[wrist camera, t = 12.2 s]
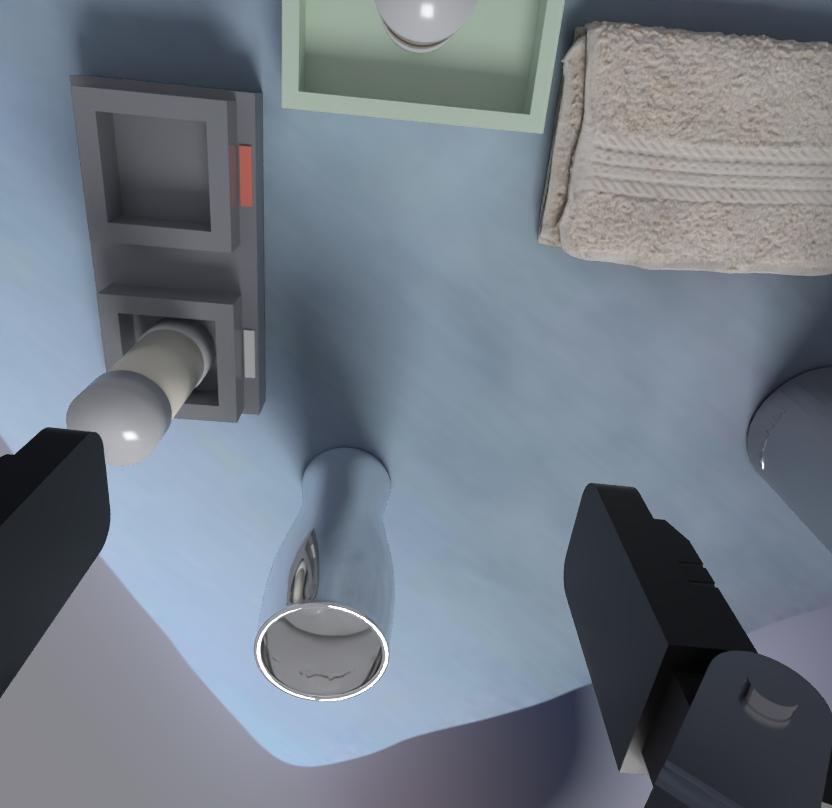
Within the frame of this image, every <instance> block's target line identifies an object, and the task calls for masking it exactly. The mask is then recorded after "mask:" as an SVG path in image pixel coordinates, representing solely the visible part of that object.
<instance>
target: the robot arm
mask: <svg viewBox="0 0 832 808" xmlns="http://www.w3.org/2000/svg"><path fill="white" fill-rule="evenodd" d="M747 451H748V455H749V458H750V462H751V463H752V465H753V467H754V468H755V470H756V471H757V472H758V473H759V475H760V476H761V477H762V478H763V479H764V480H765V481H766V482H767V483H768V484H769V485H770V487H771V488H772V489H773V490H774V491H775V492H776V493H777V494H778V495H779V496H780V497H781V499H782V500H783V501H784V502H785V503H786V504H787V505H788V507H789V508H790V509H791V510H792V511H793V512H794V513H795V514H796V515H797V516H798V517H799V519H800V520H801V521H802V522H803V523H804V524H805V525H806V526H807V527H808V528H809V529H810V531H811V532H812V533H813V534H814V535H815V536H816V537H817V538H818V539H819V540H820V541H821V543H822V544H823V545H824V546H825V547H826V548H827V549H828V550H829V551H830V552H831V553H832V367H826V368H819V369H816V370H812V371H809V372H805V373H803V374H801V375H799V376H797V377H795V378H793V379H791V380H789V381H788V382H786V383H785V384H783V385H782V386H780V387H779V388H777V389H776V390H775V391H774V392H773V393H772V394H771V395H770V396H769V397H768V398H767V399H766V400H765V401H764V402H763V404H762V405H761V407H760V408H759V409H758V411H757V412H756V414H755V416H754V418H753V420H752V422H751V424H750V428H749V432H748V436H747ZM109 526H110V503H109V493H108V484H107V474H106V464H105V454H104V446H103V441H102V439H101V436H100V435H99V434H98V433H96V432H90V431H80V430H70V429H60V428H50V427H48V428H45V429H43V430H41V431H40V432H39V433H38V434H37V435H36V436H35V437H34V438H32V439H31V440H30V441H29V442H28V443H27V444H26V445H25V446H24V447H22V448H21V449H20V450H19V451H18V452H17V453H16V454H15V455H10V454H6V455H4V456H2V457H0V698H1V696H2V695H3V693H4V692H5V690H6V689H7V687H8V686H9V684H10V682H11V681H12V680H13V678H14V677H15V676H16V674H17V672H18V671H19V670H20V668H21V667H22V665H23V664H24V663H25V661H26V660H27V658H28V657H29V655H30V654H31V652H32V651H33V649H34V648H35V646H36V645H37V644H38V642H39V641H40V639H41V637H42V636H43V635H44V633H45V632H46V630H47V629H48V627H49V626H50V624H51V623H52V622H53V620H54V619H55V617H56V616H57V614H58V613H59V611H60V610H61V608H62V607H63V606H64V604H65V602H66V601H67V600H68V598H69V597H70V595H71V594H72V592H73V591H74V589H75V588H76V587H77V585H78V584H79V582H80V581H81V579H82V578H83V576H84V575H85V573H86V572H87V570H88V569H89V567H90V566H91V565H92V563H93V562H94V560H95V559H96V557H97V556H98V554H99V553H100V551H101V550H102V548H103V546H104V544H105V541H106V538H107V535H108V531H109ZM714 584H715V582H714V581H713V579H712V577H711V576H710V574H709V572H708V571H707V569H706V568H703V563H702V561H701V559H700V558H699V556H698V554H697V553H696V551H695V550H694V548H693V546H692V545H691V543H690V541H689V540H688V539H686V538H685V537H684V536H683V535H682V534H681V533H679V532H678V531H677V530H676V529H675V528H674V527H672V526H671V525H670V524H669V523H668V522H667V521H665V520H660V519H654V518H653V517H652V515H651V513H650V511H649V510H648V508H647V506H646V504H645V502H644V501H643V499H642V497H641V495H640V493H639V492H638V490H637V489H636V488H634V487H626V486H616V485H606V484H596V483H589V484H588V485H587V486H586V488H585V490H584V492H583V495H582V498H581V502H580V506H579V509H578V513H577V517H576V520H575V524H574V528H573V531H572V535H571V539H570V542H569V546H568V550H567V554H566V558H565V564H564V588H565V593H566V597H567V600H568V604H569V607H570V610H571V614H572V617H573V620H574V624H575V627H576V630H577V634H578V637H579V640H580V644H581V647H582V650H583V654H584V657H585V660H586V664H587V667H588V670H589V674H590V677H591V680H592V684H593V687H594V690H595V694H596V697H597V700H598V703H599V707H600V710H601V713H602V717H603V720H604V723H605V727H606V730H607V733H608V736H609V740H610V743H611V747H612V750H613V753H614V757H615V760H616V763H617V767H618V770H619V772H620V773H633V774H634V773H635V774H647V775H649V776H650V779H651V782H652V785H653V789H652V791H651V793H650V796H649V798H648V800H647V802H646V804H645V807H644V808H832V712H831V710H830V708H829V706H828V704H827V703H826V701H825V700H824V698H823V697H822V696H821V695H820V693H819V692H818V691H817V690H816V689H815V688H814V687H813V686H812V685H811V684H810V683H809V682H808V681H807V680H806V679H804V678H803V677H802V676H801V675H799V674H798V673H797V672H795V671H794V670H792V669H791V668H789V667H787V666H786V665H784V664H782V663H780V662H778V661H776V660H774V659H771V658H769V657H766V656H763V655H761V654H758V653H757V651H756V649H755V648H754V646H753V644H752V643H751V641H750V640H749V638H748V636H747V635H746V633H745V631H744V630H743V628H742V626H741V625H740V623H739V621H738V620H737V618H736V617H735V615H734V613H733V612H732V610H731V608H730V607H729V605H728V603H727V602H726V600H725V599H724V597H723V595H722V594H721V592H720V590H719V589H718V588H716V587H715V586H714Z"/></svg>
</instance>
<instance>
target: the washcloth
mask: <svg viewBox="0 0 832 808" xmlns="http://www.w3.org/2000/svg"><path fill="white" fill-rule="evenodd" d="M561 62H563V63H564V65H563V67H562V68H563V76H562V79H561V85H560V88H559V96H558V102H557V107H556V113H555V120H554V129H553V142H552V148H551V153H550V160H549V165H548V171H547V176H546V184H545V189H544V195H543V200H542V205H541V212H540V220H539V232H538V237H537V240H538V243H540V244H547V245H549V246H551V247H555V246H556V247H558V246H559V247H562V248H563V250H564V251H565V252H566V253H568V254H569V255H571V256H573V257H576V258H579V259H583V260H587V261H605V262H613V263H618V264H626V265H632V266H637V267H639V268H642V269H649V270H657V269H659V270H661V269H663V270H666V269H667V270H698V271H714V272H725V273H773V274H786V275H800V276H801V275H807V276H820V275H821V276H822V275H827V274H832V44H830V43H828V42H827V41H825V42H821V41H817V42H813V41H811V42H805V43H803V42H797V41H795V40H781V41H780V40H778V39H777V40H776V39H773V38H770V37H768V36H765V35H764V34H763V35H759V36H757V37H756V36H754V35H751V36H746V35H745V34H743V36H739V35H736V34H730V35H724V34H723V33H722V32H693V31H687V30H685V29H681V28H678V29H676V28H675V29H666V28H665V27H661V26H660V27H657V26H654V27H644V26H642V25H640V24H638V23H637V24H630V23H627V22H620V23H615V22H608V21H603V22H598V21H594V22H592V23H586V24H585V26H584V27H576V28H575V29H574V40H573V45H572V47H571V48H570V49H569V50H568V51H567V53H566V54H565V56H564V57H563V59H562V60H561Z"/></svg>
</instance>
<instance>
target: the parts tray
mask: <svg viewBox="0 0 832 808" xmlns="http://www.w3.org/2000/svg"><path fill="white" fill-rule="evenodd" d="M564 3H565V0H478V2H477V5H476V7H475V9H474V11H473V12H472V14H471V16H470V17H469V18H468V20H467V21H466V22H465V23H464V24H463V25H462V26H461V28H460V29H459V30H458V31H457V32H455V34H454V35H453V36H452V38H451V39H450V40H449V41H448V42H447V43H446V44H445V45H443V46H442V47H441V48H439V49H438V50H436V51H433V52H430V53H426V54H415V53H410V52H408V51H405V50H403V49H401V48H400V47H399V46H397V45H396V44H395V43H394V42H393V41H392V40H391V39H390V37H389V36H388V34H387V33H386V31H385V29H384V26H383V24H382V21H381V18H380V14H379V12H378V9H377V7H376V4H375V1H374V0H282V108H288V109H298V110H308V111H318V112H328V113H338V114H349V115H359V116H369V117H379V118H389V119H399V120H409V121H419V122H429V123H439V124H449V125H459V126H469V127H479V128H489V129H499V130H510V131H520V132H530V133H540V134H543V131H544V125H545V119H546V113H547V107H548V100H549V94H550V88H551V82H552V76H553V70H554V64H555V58H556V51H557V45H558V39H559V33H560V27H561V21H562V15H563V9H564Z"/></svg>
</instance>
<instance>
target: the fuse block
mask: <svg viewBox="0 0 832 808" xmlns="http://www.w3.org/2000/svg"><path fill="white" fill-rule="evenodd" d="M70 82H71V92H72V100H73V108H74V116H75V124H76V132H77V140H78V148H79V156H80V164H81V172H82V180H83V188H84V196H85V204H86V212H87V220H88V228H89V236H90V242H91V250H92V258H93V266H94V274H95V282H96V290H97V300H98V308H99V316H100V324H101V332H102V340H103V348H104V356H105V364H106V372H107V371H108V370H109V369H110V368H111V367H112V366H113V365H114V364H115V363H116V362H117V361H118V360H120V359H121V358H122V357H123V356H124V355H125V354H126V353H127V352H128V351H129V350H130V349H131V348H132V347H133V346H134V345H135V344H136V343H137V341H138V340H139V338H140V337H141V336H142V335H143V334H144V333H145V332H146V331H147V330H148V329H150V328H151V327H152V326H153V325H154V324H155V323H156V322H157V321H159V320H161V319H163V318H165V317H173V318H185V319H192V320H194V321H196V322H198V323H199V324H201V325H202V326H203V327H204V328H205V329H206V330H207V331H208V332H209V334H210V335H211V337H212V339H213V341H214V344H215V350H216V355H215V360H214V363H213V365H212V367H211V368H210V370H209V371H208V373H207V374H206V375H205V377H204V378H203V380H202V381H201V383H200V384H199V385H198V386H197V387H195V388H194V389H193V391H192V392H191V394H190V395H189V396H188V398H187V399H186V401H185V402H184V404H183V405H182V406H181V408H180V409H179V411H178V412H177V413H176V415H175V416H174V418H178V419H191V420H205V421H218V422H232V423H237V422H238V420H239V418H240V416H241V414H242V413H243V414H257V415H259V414H260V412H261V410H262V408H263V405H264V403H265V401H266V395H265V294H264V193H263V93H256V92H246V91H236V90H226V89H217V88H207V87H197V86H187V85H177V84H167V83H157V82H147V81H137V80H127V79H117V78H107V77H97V76H86V75H70Z"/></svg>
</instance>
